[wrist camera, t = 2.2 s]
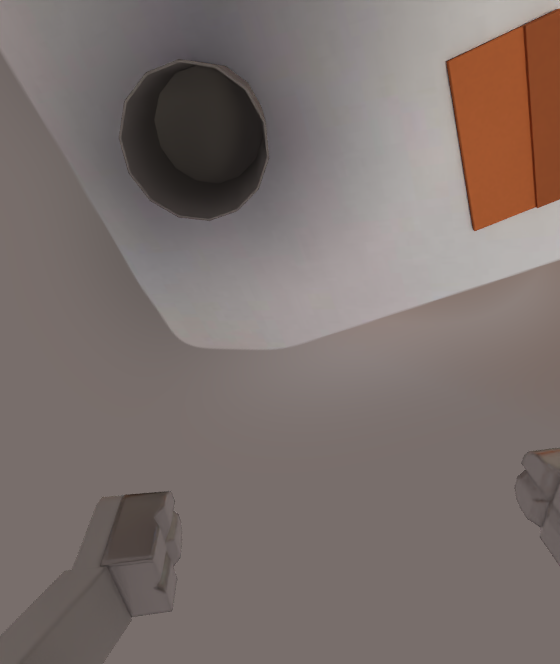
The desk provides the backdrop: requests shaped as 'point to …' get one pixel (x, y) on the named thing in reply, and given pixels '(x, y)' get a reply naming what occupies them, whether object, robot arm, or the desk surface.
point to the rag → (510, 120)
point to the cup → (194, 139)
